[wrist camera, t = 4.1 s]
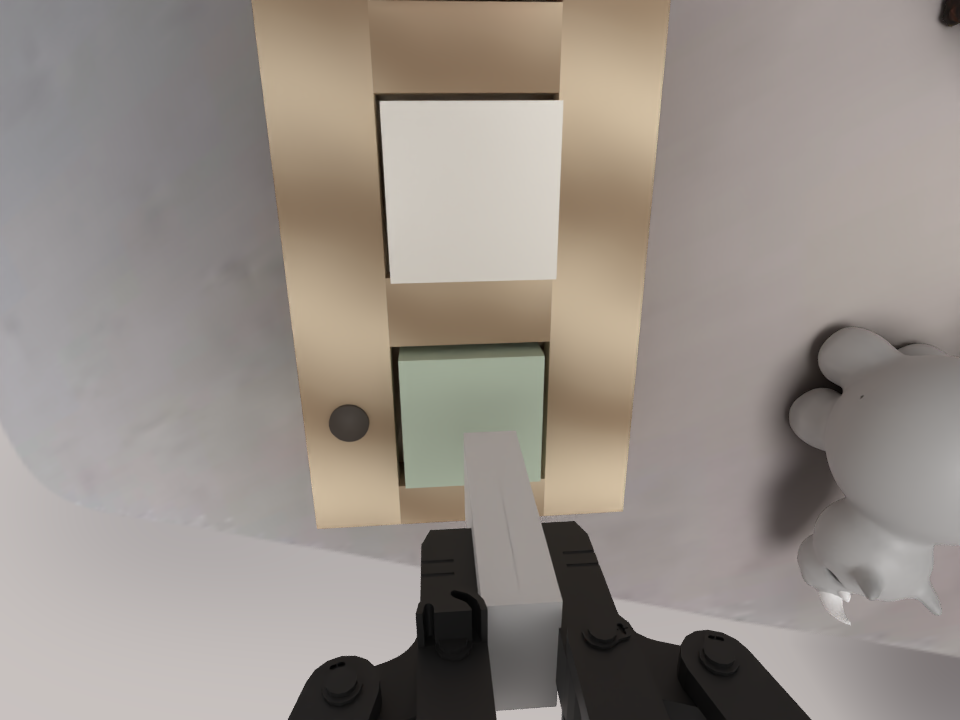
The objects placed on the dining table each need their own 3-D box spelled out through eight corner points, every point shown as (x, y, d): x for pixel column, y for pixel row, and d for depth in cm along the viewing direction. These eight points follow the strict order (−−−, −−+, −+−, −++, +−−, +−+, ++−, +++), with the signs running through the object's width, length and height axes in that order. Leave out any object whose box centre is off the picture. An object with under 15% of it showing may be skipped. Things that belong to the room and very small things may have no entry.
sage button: (401, 333, 23) (398, 361, 20) (530, 328, 23) (544, 355, 21) (407, 448, 25) (405, 488, 22) (527, 442, 25) (540, 481, 22)
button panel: (252, -256, 18) (203, -366, 14) (646, -240, 19) (705, -338, 15) (332, 473, 27) (316, 532, 23) (596, 460, 28) (624, 514, 24)
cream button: (386, 105, 19) (379, 100, 16) (543, 104, 19) (563, 100, 16) (395, 262, 21) (390, 283, 18) (538, 259, 21) (556, 279, 18)
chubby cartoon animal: (703, 526, 30) (805, 670, 22) (821, 300, 26) (998, 375, 18) (826, 554, 31) (964, 700, 23) (955, 344, 27) (1174, 432, 19)
